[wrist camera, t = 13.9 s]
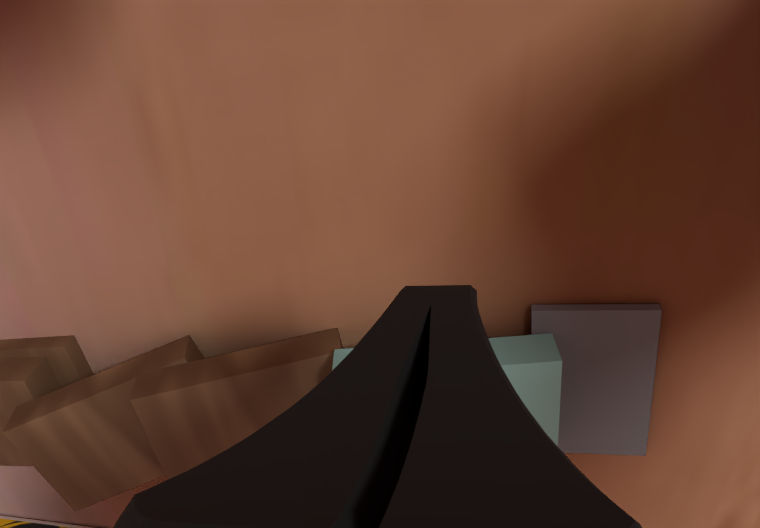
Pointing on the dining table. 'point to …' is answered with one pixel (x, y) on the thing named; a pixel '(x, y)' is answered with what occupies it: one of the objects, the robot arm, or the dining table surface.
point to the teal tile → (525, 374)
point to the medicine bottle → (33, 523)
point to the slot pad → (603, 373)
